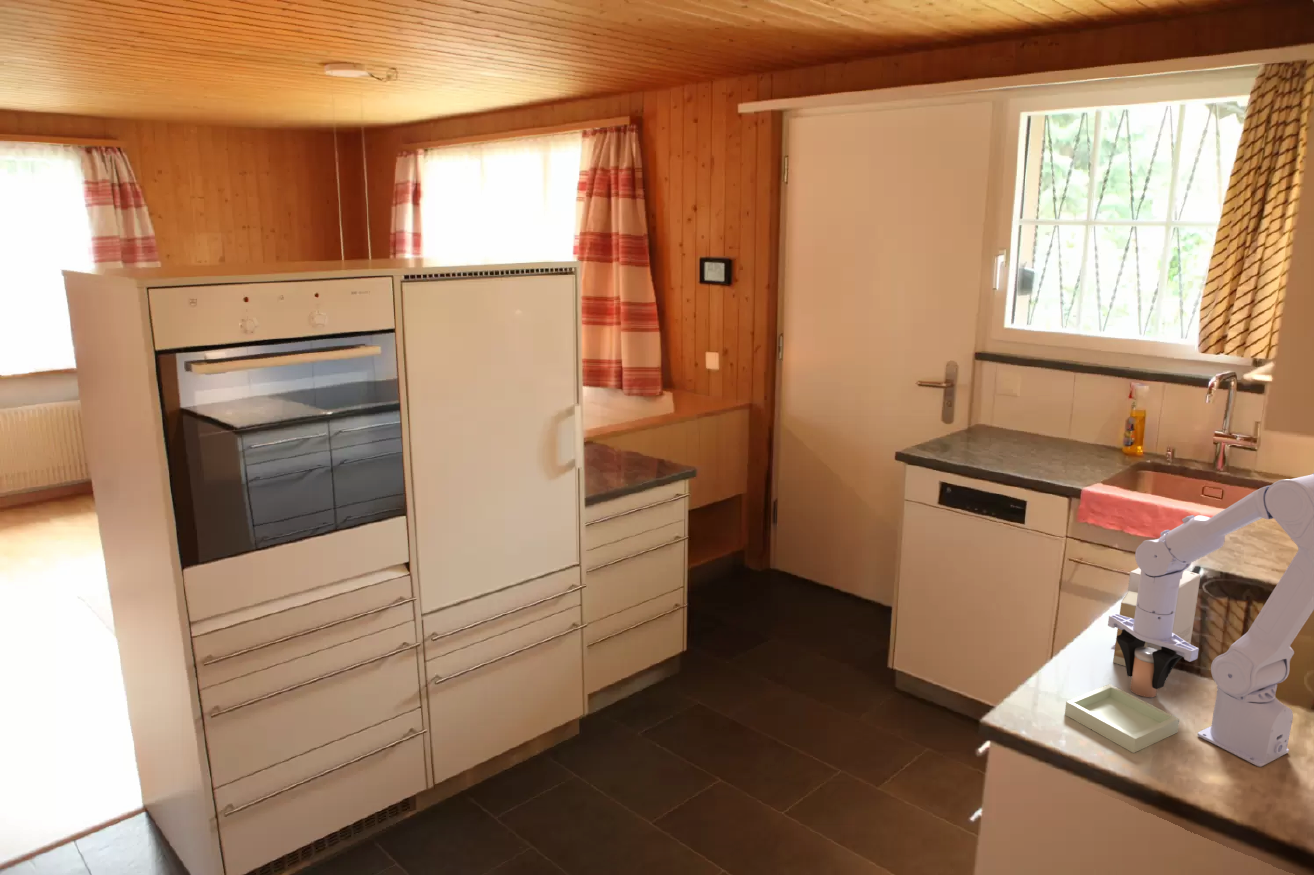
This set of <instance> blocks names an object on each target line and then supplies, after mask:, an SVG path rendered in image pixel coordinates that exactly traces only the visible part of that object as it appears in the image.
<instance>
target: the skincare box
mask: <svg viewBox="0 0 1314 875" xmlns="http://www.w3.org/2000/svg"><path fill="white" fill-rule="evenodd" d="M1137 595H1138V593H1137V592H1132V591H1128V590H1127V593H1126V594H1125V595H1124V596H1123V599H1122V600H1121V602H1120V609H1119V615H1122V616H1125V617H1128V618H1132V619H1134V617H1135V610H1136V603H1137ZM1121 633H1122V630H1121V629H1118V628H1117V632H1116V638H1115V639H1116V640H1115V645H1114V646H1115V647H1114V652H1113V660H1112V662H1113V663H1114V664H1117V665H1120V666H1124V667H1126V665H1125V660H1124V656H1123V653H1122V650H1121V648H1120V646H1119V644H1118V642H1117V636H1118V635H1121ZM1147 643H1148V642H1145V645H1144V647H1147Z"/></svg>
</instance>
